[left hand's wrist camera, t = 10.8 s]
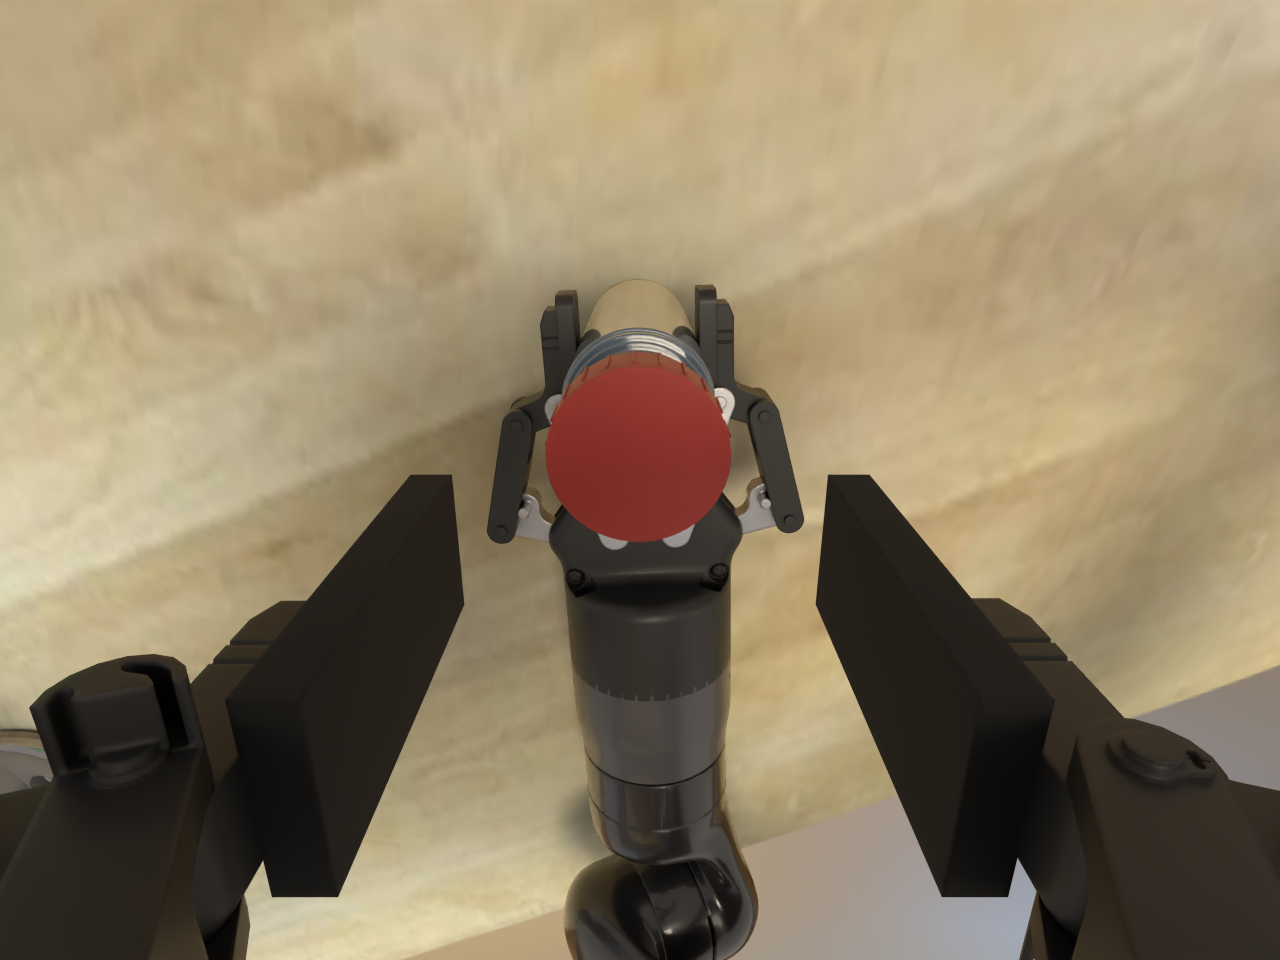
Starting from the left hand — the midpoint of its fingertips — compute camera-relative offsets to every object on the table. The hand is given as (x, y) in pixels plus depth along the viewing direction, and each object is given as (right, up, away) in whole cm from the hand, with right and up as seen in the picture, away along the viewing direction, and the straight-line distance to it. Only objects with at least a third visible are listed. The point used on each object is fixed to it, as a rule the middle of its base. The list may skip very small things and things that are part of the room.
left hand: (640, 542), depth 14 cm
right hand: (0, +9, +15) cm, 18 cm away
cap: (0, +2, +5) cm, 5 cm away
